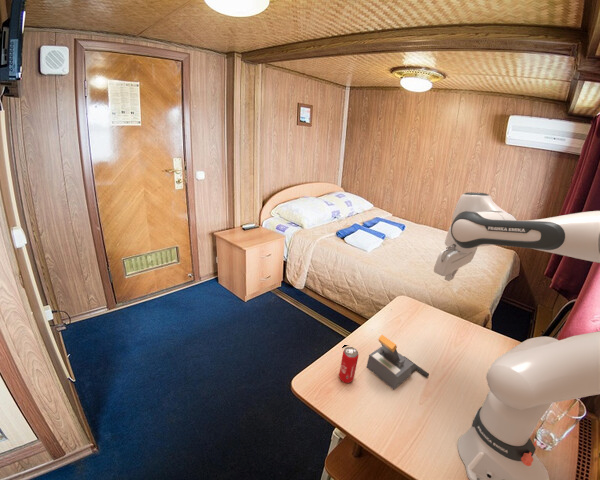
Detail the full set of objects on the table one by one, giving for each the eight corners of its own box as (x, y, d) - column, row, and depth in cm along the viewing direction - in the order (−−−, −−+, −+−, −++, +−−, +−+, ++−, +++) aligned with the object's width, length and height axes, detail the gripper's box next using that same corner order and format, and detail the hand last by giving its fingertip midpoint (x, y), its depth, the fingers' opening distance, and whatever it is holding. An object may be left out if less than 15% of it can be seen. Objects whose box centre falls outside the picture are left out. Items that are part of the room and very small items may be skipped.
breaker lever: (401, 360, 106) (396, 344, 98) (397, 365, 106) (392, 349, 98) (387, 350, 111) (381, 334, 102) (383, 354, 110) (377, 338, 102)
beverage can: (353, 385, 104) (358, 359, 99) (338, 382, 104) (342, 355, 100) (353, 373, 108) (359, 348, 103) (339, 370, 109) (344, 344, 104)
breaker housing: (412, 374, 110) (418, 356, 107) (393, 389, 103) (399, 371, 100) (385, 353, 119) (390, 336, 115) (366, 367, 112) (370, 349, 108)
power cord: (428, 376, 110) (429, 373, 109) (420, 383, 107) (421, 379, 106) (402, 357, 118) (403, 354, 117) (395, 363, 114) (395, 360, 114)
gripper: (455, 252, 87) (442, 292, 93) (484, 239, 100) (471, 275, 105) (435, 244, 92) (423, 283, 97) (464, 232, 104) (453, 268, 110)
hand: (448, 279), depth 101 cm, fingers closed
